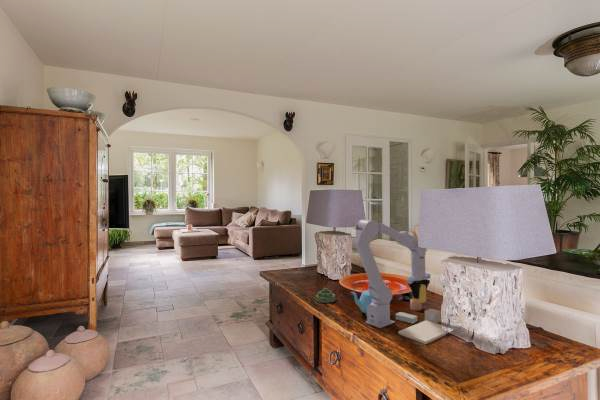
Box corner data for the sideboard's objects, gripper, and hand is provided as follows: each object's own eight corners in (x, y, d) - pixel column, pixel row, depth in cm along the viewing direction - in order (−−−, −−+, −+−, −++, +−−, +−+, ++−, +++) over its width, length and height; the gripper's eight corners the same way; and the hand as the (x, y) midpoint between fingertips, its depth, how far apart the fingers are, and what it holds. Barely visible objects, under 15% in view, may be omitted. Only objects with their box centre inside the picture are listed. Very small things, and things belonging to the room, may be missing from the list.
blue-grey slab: (417, 321, 144) (417, 316, 144) (412, 324, 142) (412, 318, 141) (400, 317, 150) (400, 311, 150) (395, 320, 147) (395, 314, 147)
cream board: (425, 344, 122) (425, 341, 122) (398, 333, 132) (398, 331, 132) (453, 331, 133) (453, 328, 133) (426, 322, 142) (426, 320, 142)
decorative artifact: (321, 304, 171) (338, 301, 175) (320, 290, 171) (338, 287, 175) (313, 299, 181) (330, 296, 184) (312, 285, 180) (329, 283, 184)
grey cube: (434, 324, 140) (434, 313, 140) (424, 321, 144) (424, 310, 144) (440, 321, 143) (440, 311, 143) (431, 318, 146) (430, 308, 146)
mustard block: (420, 303, 146) (420, 286, 146) (412, 301, 149) (412, 285, 149) (426, 301, 148) (425, 285, 148) (418, 299, 152) (417, 283, 151)
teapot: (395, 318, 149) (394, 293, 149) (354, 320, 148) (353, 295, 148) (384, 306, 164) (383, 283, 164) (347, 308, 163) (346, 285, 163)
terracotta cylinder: (417, 311, 156) (417, 302, 156) (408, 308, 160) (407, 300, 160) (423, 309, 159) (423, 300, 159) (414, 306, 163) (414, 298, 163)
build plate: (393, 300, 174) (392, 291, 174) (398, 297, 180) (398, 288, 180) (417, 304, 166) (417, 295, 166) (422, 300, 172) (422, 291, 172)
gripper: (416, 270, 141) (417, 303, 141) (436, 265, 149) (437, 295, 150) (401, 267, 147) (402, 299, 147) (422, 262, 155) (423, 292, 155)
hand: (419, 297), depth 149 cm, fingers closed on mustard block, 4 cm apart
